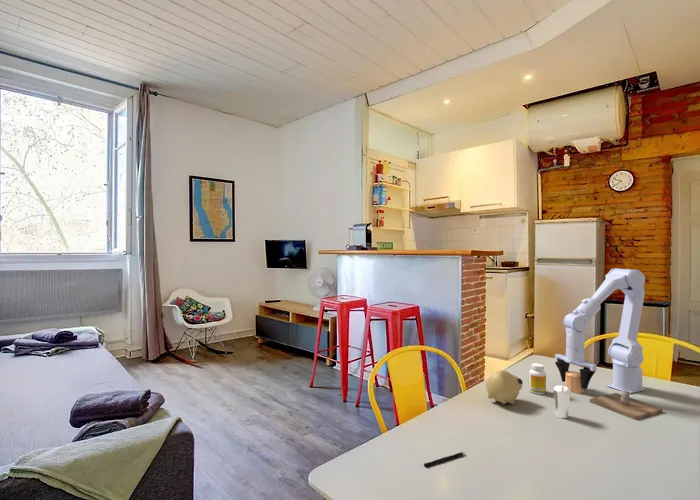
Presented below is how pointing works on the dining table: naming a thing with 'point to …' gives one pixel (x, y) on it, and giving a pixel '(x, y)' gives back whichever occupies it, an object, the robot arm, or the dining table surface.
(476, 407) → the dining table surface
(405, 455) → the dining table surface
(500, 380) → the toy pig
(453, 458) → the black stick
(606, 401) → the post block
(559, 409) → the milkshake
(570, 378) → the wire nut cap
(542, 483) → the dining table surface
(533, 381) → the supplement bottle
